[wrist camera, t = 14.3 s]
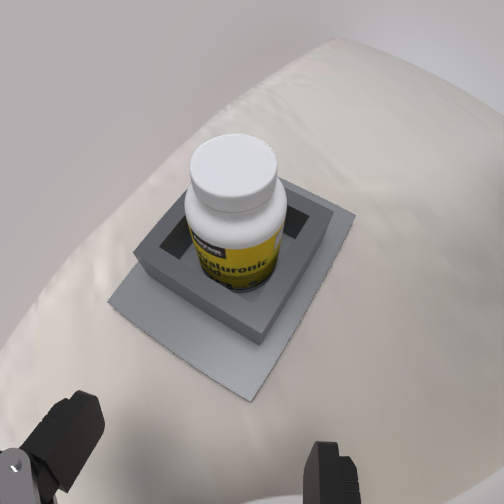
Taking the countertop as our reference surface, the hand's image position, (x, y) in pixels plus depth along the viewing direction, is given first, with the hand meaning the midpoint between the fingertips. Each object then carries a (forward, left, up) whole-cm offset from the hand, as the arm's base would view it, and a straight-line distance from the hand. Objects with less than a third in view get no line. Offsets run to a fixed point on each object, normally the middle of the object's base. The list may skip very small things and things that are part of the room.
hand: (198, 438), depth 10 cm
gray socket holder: (-4, -11, -10) cm, 15 cm away
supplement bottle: (-4, -11, -9) cm, 14 cm away
